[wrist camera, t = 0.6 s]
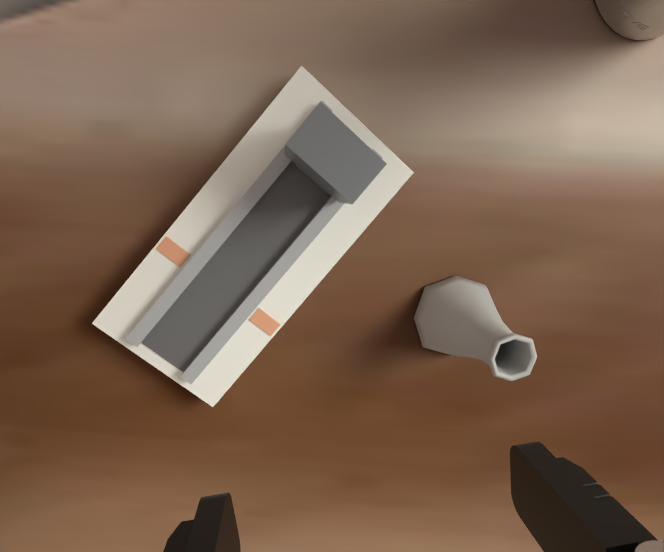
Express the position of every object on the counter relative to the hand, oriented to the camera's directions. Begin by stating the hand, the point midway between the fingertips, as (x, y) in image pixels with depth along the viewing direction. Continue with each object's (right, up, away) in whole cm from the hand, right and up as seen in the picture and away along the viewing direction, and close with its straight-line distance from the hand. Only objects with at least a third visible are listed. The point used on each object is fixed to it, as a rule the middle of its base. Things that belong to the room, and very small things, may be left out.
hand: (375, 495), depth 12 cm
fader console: (-7, +9, +22) cm, 25 cm away
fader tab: (-2, +14, +19) cm, 23 cm away
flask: (+9, +3, +25) cm, 27 cm away
